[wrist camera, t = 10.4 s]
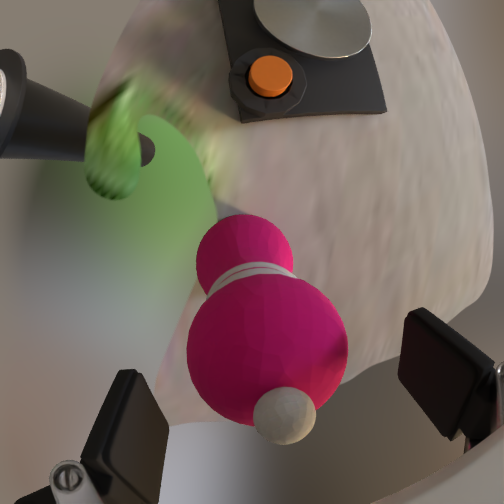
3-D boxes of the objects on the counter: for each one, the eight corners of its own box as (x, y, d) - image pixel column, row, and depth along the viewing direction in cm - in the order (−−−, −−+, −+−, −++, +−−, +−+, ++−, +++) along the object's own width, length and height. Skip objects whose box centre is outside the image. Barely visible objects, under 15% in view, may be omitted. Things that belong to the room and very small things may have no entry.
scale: (235, 125, 22) (236, 117, 19) (210, -8, 18) (210, -24, 15) (380, 114, 23) (396, 109, 20) (342, -8, 19) (352, -20, 16)
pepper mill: (287, 216, 25) (452, 326, 6) (271, 291, 27) (352, 481, 7) (207, 202, 24) (146, 297, 5) (195, 280, 26) (155, 483, 6)
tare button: (252, 99, 20) (254, 93, 18) (245, 65, 19) (247, 57, 17) (291, 95, 20) (296, 89, 18) (283, 62, 19) (288, 54, 17)
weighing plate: (265, 62, 18) (267, 59, 18) (243, -24, 15) (244, -29, 15) (381, 64, 19) (385, 62, 18) (349, -18, 16) (352, -22, 15)
